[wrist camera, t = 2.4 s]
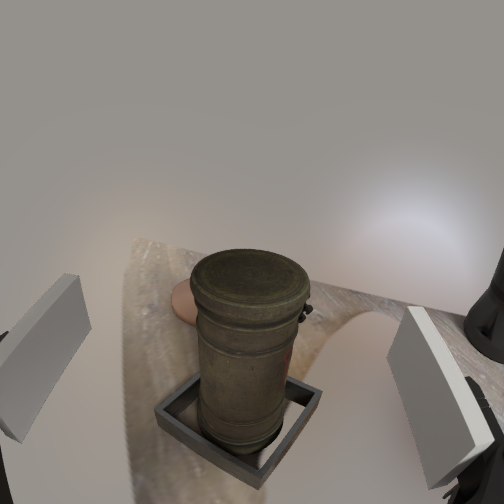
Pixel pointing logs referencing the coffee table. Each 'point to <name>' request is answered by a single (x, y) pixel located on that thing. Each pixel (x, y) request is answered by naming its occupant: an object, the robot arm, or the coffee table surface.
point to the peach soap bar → (184, 303)
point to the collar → (217, 456)
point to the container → (245, 344)
